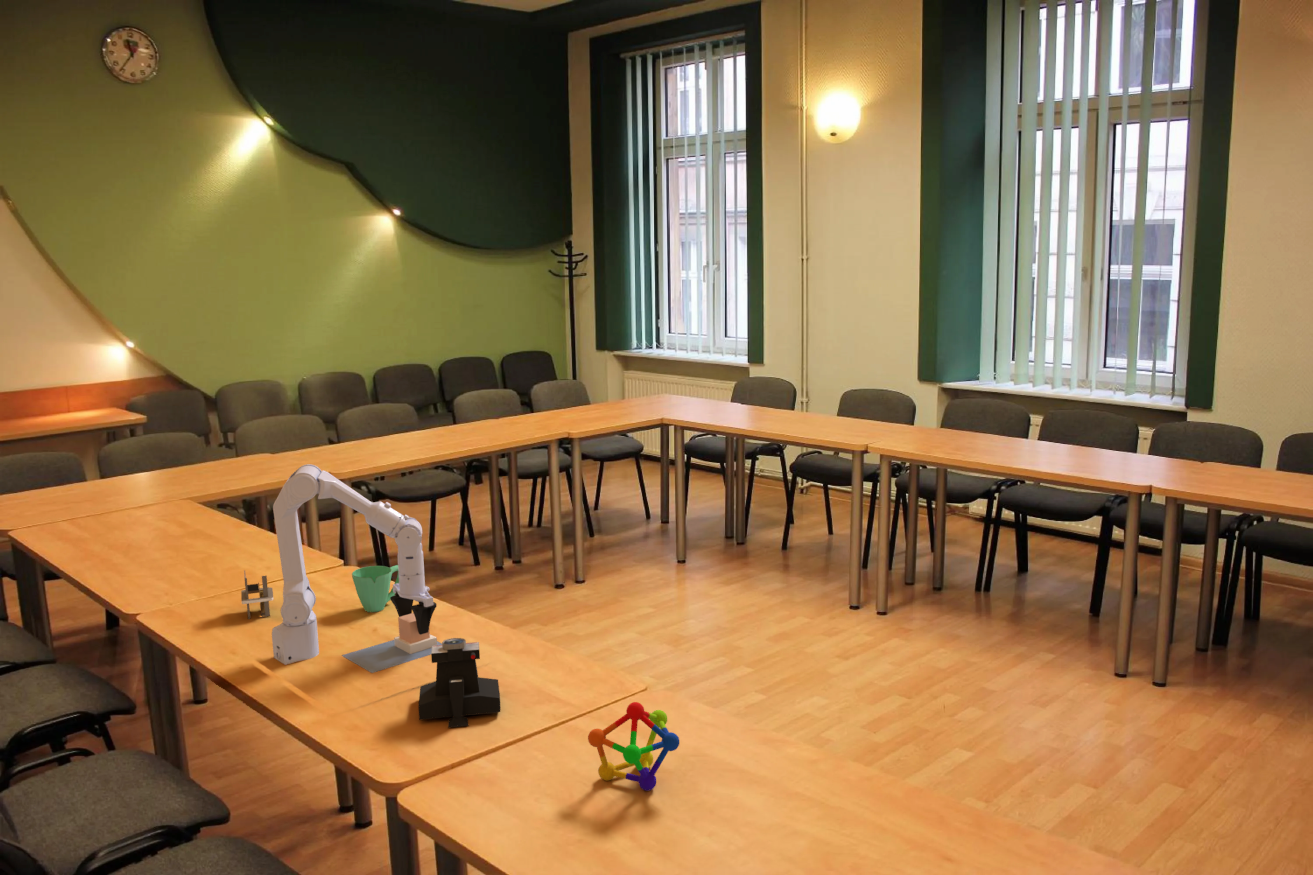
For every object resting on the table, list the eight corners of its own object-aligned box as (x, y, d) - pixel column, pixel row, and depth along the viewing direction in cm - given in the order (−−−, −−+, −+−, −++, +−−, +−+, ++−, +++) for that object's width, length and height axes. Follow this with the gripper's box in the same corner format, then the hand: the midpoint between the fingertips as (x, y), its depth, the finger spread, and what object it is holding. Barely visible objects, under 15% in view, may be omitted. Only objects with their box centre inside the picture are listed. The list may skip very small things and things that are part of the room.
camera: (495, 630, 226) (498, 650, 212) (498, 697, 228) (501, 722, 213) (417, 636, 223) (415, 657, 209) (421, 704, 225) (419, 730, 210)
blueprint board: (372, 676, 237) (371, 664, 236) (341, 658, 247) (340, 646, 246) (451, 651, 250) (450, 639, 249) (419, 635, 260) (418, 624, 259)
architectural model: (224, 607, 283) (220, 566, 281) (292, 599, 289) (288, 558, 286) (223, 631, 266) (219, 588, 264) (295, 622, 271) (291, 579, 269)
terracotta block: (410, 643, 247) (409, 622, 247) (399, 637, 251) (398, 617, 250) (429, 637, 251) (428, 617, 250) (418, 632, 254) (417, 611, 253)
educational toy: (638, 815, 181) (630, 734, 177) (588, 788, 190) (578, 711, 186) (702, 774, 191) (695, 696, 187) (651, 750, 200) (644, 676, 196)
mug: (371, 618, 272) (369, 580, 270) (346, 610, 278) (343, 573, 276) (416, 601, 284) (414, 565, 282) (391, 594, 289) (389, 558, 287)
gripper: (443, 575, 246) (446, 632, 248) (410, 561, 256) (413, 616, 259) (416, 582, 241) (419, 640, 243) (383, 568, 251) (387, 624, 254)
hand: (414, 628), depth 251 cm, fingers open, 7 cm apart
